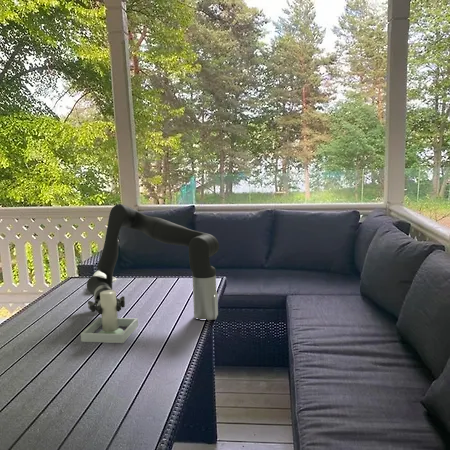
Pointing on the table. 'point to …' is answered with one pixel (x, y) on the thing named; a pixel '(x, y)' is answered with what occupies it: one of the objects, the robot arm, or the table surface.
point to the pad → (118, 331)
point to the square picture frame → (109, 338)
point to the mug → (103, 275)
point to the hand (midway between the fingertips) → (109, 310)
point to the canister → (109, 310)
